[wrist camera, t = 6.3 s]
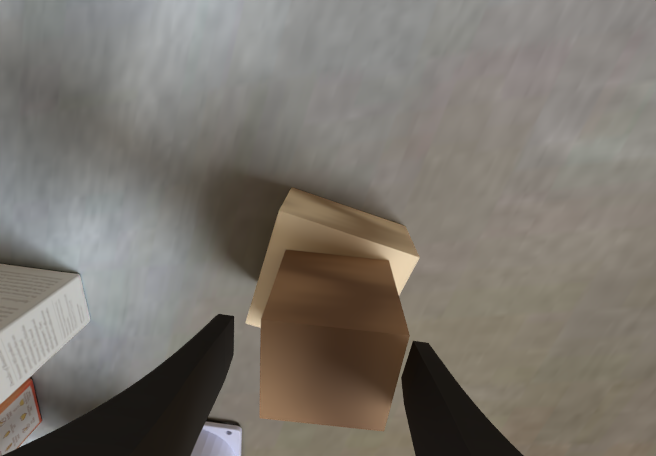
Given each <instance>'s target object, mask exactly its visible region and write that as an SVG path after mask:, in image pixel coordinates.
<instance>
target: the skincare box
mask: <svg viewBox="0 0 656 456" xmlns="http://www.w3.org/2000/svg"><path fill="white" fill-rule="evenodd" d="M89 321H90V315H89V311H88V307H87V303H86V299H85V294H84V290H83V285H82V280H81V277H80V275H79V274H74V273H66V272H58V271H51V270H44V269H36V268H28V267H21V266H13V265H6V264H0V404H1V403H2V402H4V401H5V400H6V399H7V398H8V397H9V396H10V395H11V394H12V393H13V392H14V391H16V390H17V389H18V388H19V387H20V386H21V385H22V384H23V383H24V382H25V381H26V380H27V379H28V378H30V377H31V376H32V375H33V374H34V373H35V372H36V371H37V370H38V369H39V368H40V367H41V366H42V365H44V364H45V363H46V362H47V361H48V360H49V359H50V358H51V357H52V356H53V355H54V354H55V353H56V352H58V351H59V350H60V349H61V348H62V347H63V346H64V345H65V344H66V343H67V342H68V341H69V340H70V339H72V338H73V337H74V336H75V335H76V334H77V333H78V332H79V331H80V330H81V329H82V328H83V327H84V326H86V325H87V324H88V323H89Z"/></svg>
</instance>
